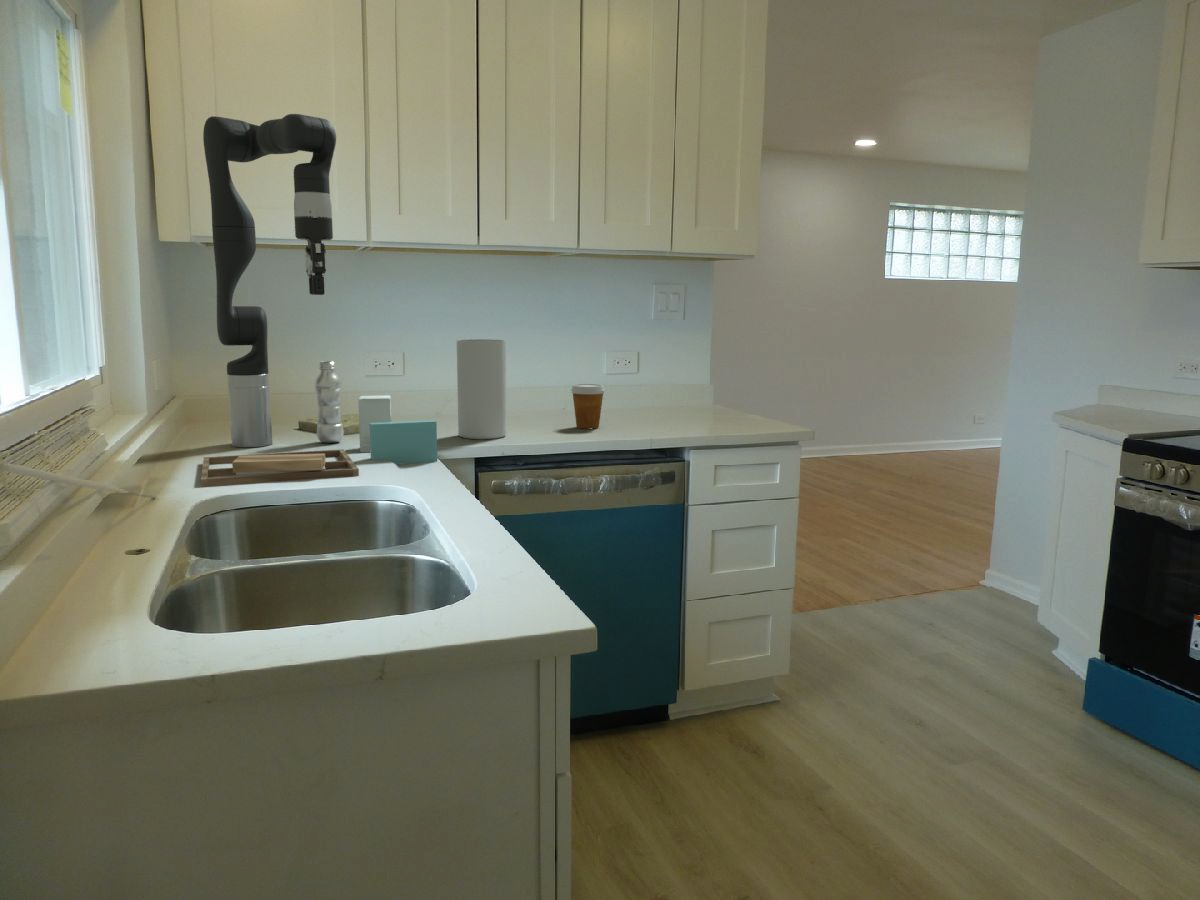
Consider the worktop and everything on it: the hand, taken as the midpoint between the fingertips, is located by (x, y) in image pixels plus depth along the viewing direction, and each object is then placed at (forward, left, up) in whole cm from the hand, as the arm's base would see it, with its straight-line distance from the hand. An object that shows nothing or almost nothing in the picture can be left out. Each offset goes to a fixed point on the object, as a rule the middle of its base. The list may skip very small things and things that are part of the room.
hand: (316, 294), depth 182 cm
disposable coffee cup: (-27, +74, -36) cm, 87 cm away
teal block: (+8, +16, -36) cm, 40 cm away
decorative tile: (-48, +11, -37) cm, 61 cm away
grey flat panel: (+20, -10, -35) cm, 42 cm away
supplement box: (-11, +13, -36) cm, 40 cm away
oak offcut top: (+20, -10, -33) cm, 40 cm away
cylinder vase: (-22, +42, -36) cm, 60 cm away
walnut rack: (+12, -10, -36) cm, 39 cm away
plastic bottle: (-25, +4, -36) cm, 44 cm away
